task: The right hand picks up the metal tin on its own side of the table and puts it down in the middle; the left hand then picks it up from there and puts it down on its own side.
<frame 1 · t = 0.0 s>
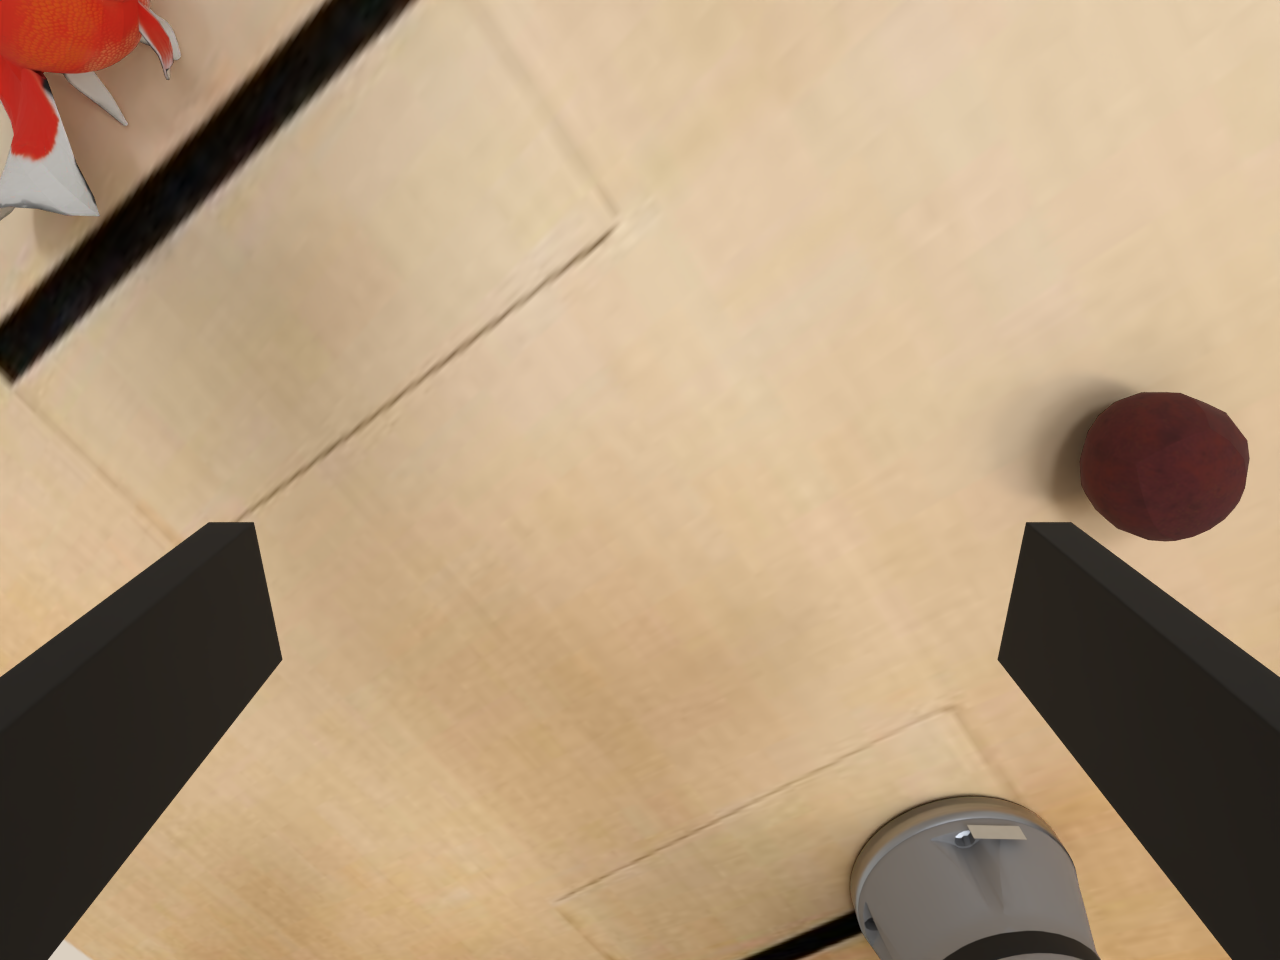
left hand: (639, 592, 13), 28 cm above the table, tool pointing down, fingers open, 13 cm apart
fish: (110, 93, 35), on the table
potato: (1116, 442, 41), on the table
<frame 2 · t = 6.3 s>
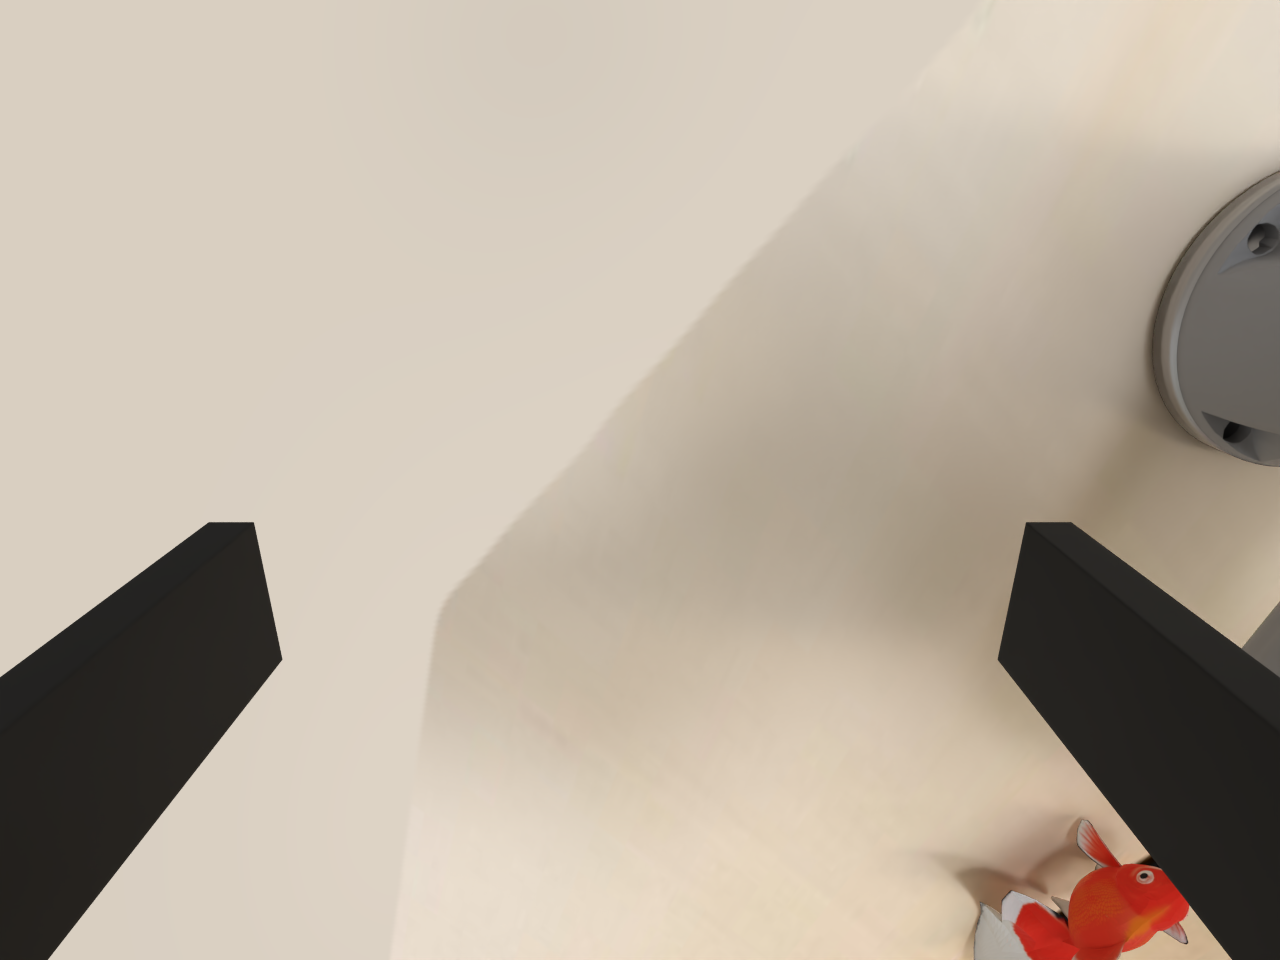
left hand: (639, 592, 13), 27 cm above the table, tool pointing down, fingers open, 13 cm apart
fish: (1042, 880, 51), on the table
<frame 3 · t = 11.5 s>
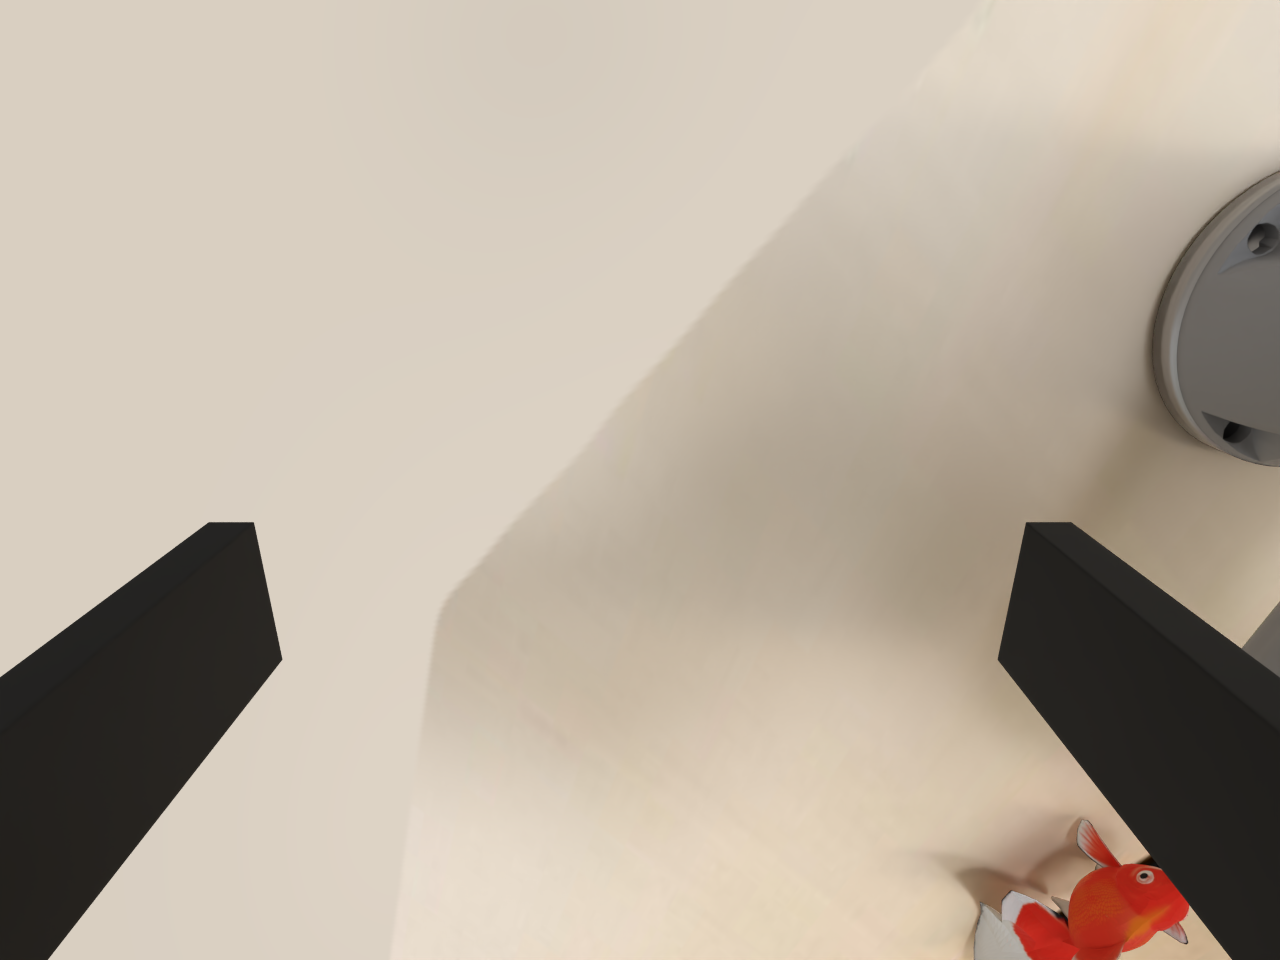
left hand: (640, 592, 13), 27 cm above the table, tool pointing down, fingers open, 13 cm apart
fish: (1042, 880, 51), on the table
when the right hand's fingers open (4 cm above the table, at t = 16.6 s): tin drops 1 cm, on the table.
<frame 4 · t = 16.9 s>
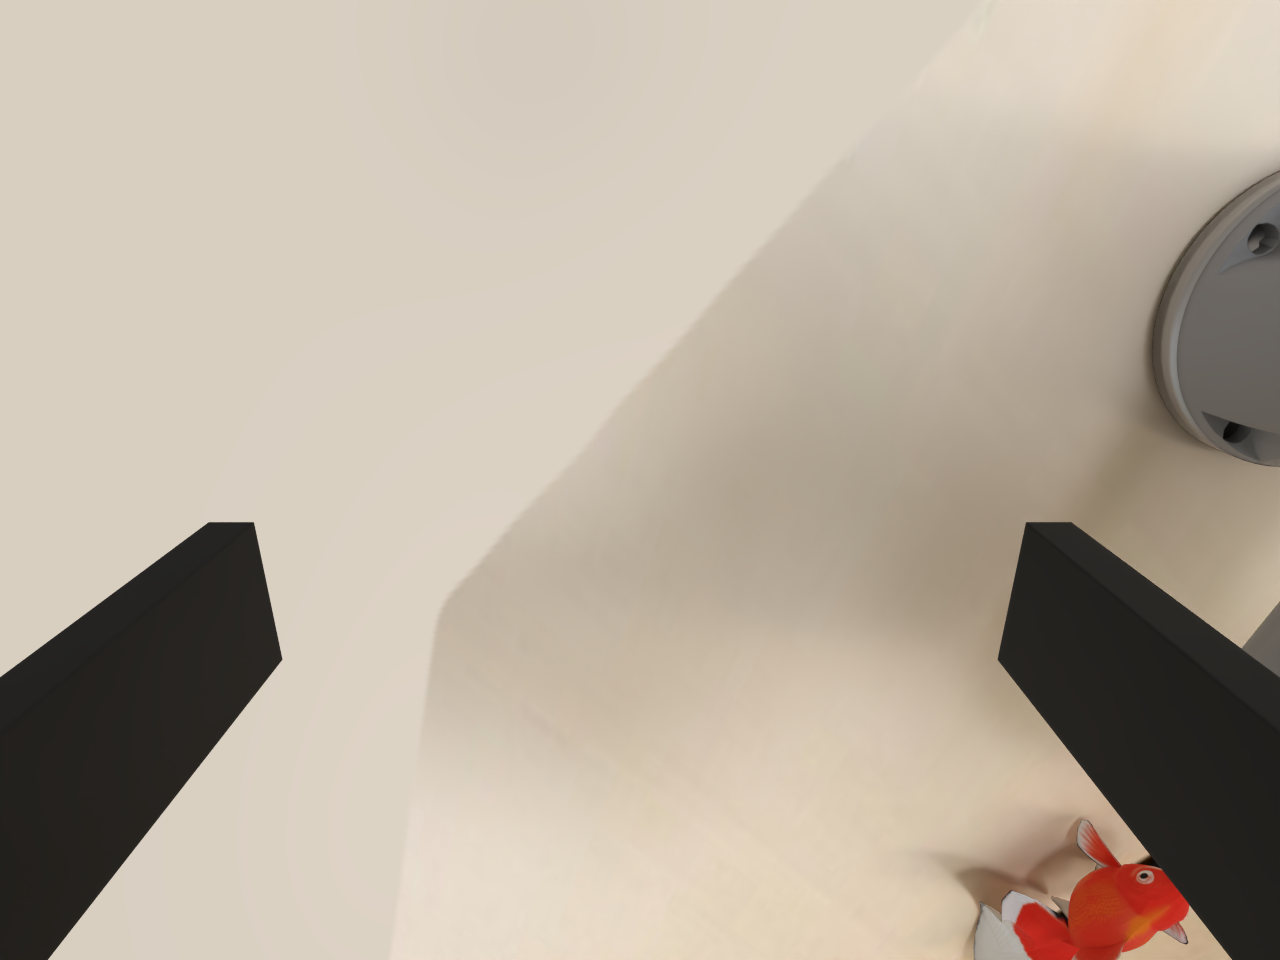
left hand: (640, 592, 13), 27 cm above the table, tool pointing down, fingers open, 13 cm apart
fish: (1042, 880, 51), on the table
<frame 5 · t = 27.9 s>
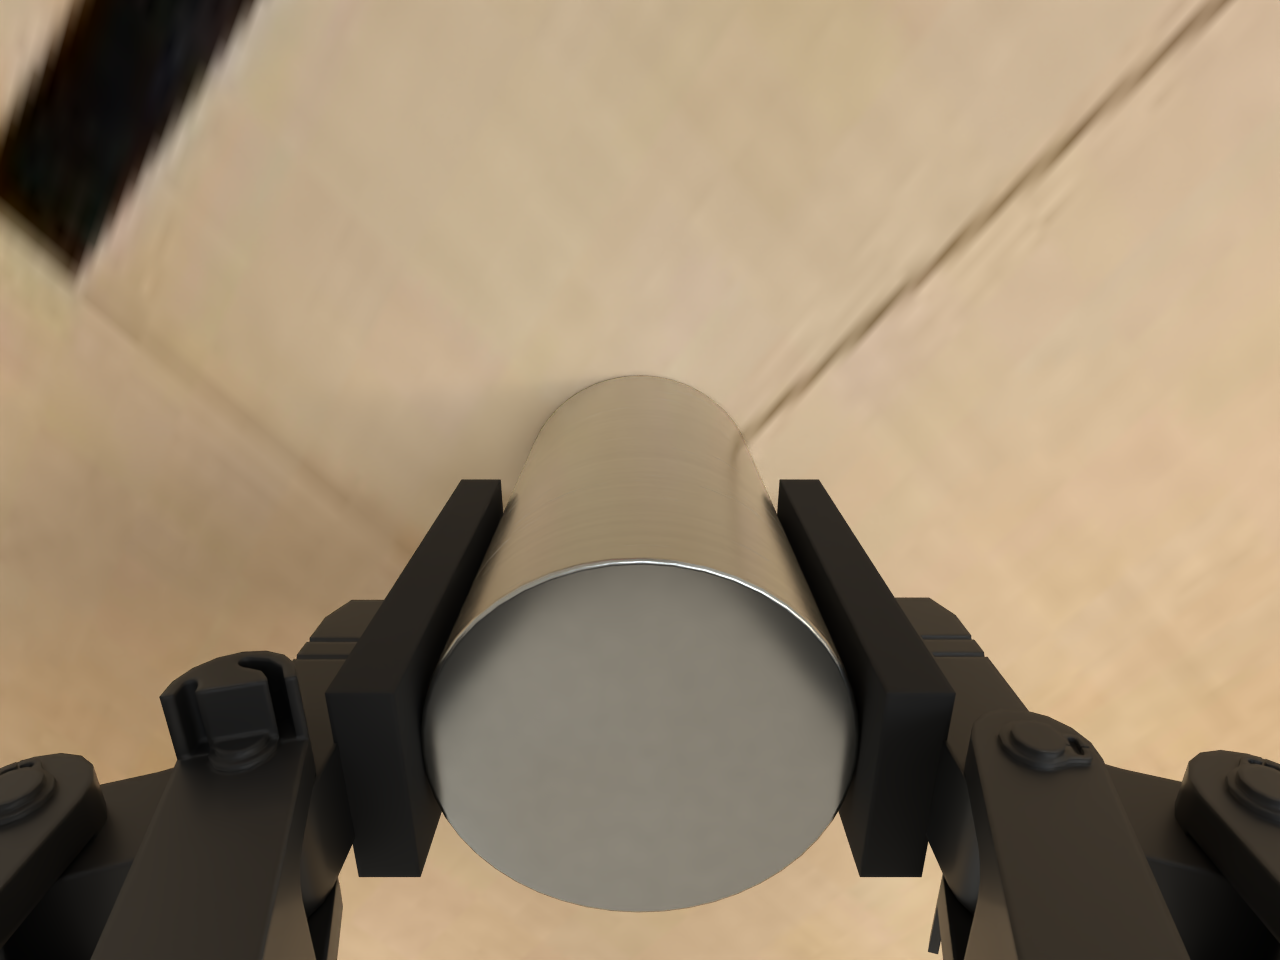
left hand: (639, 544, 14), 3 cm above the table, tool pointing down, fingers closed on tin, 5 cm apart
tin: (639, 486, 17), on the table, touching left hand
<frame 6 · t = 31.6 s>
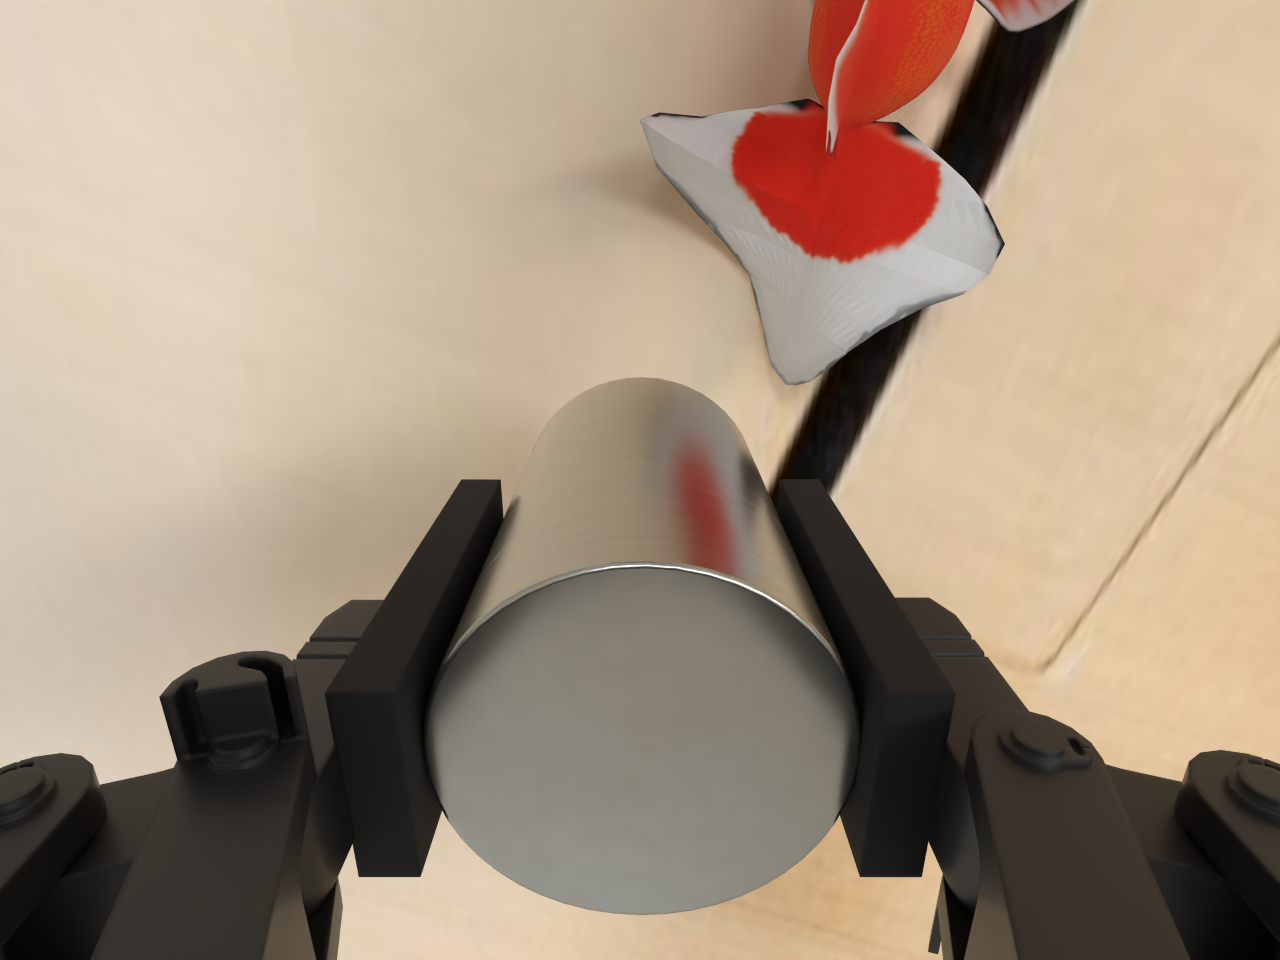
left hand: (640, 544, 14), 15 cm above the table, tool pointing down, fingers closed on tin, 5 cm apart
fish: (825, 148, 25), on the table
tin: (641, 487, 17), point 12 cm above the table, touching left hand
when the left hand's fingers open (4 cm above the table, at t = 35.5 s): tin drops 1 cm, on the table.
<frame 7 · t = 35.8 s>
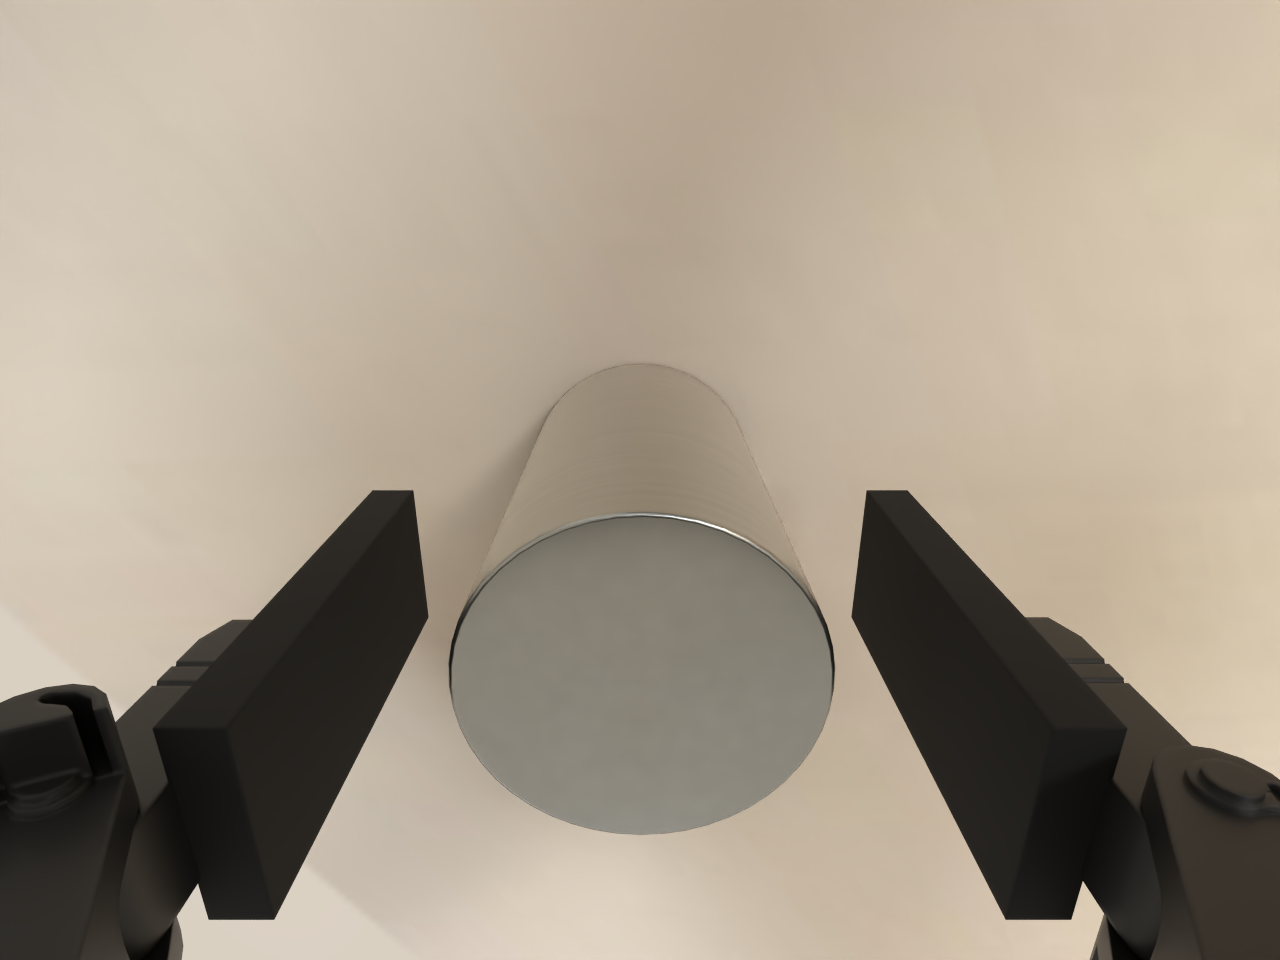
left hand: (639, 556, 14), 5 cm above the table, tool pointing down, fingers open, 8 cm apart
tin: (640, 467, 19), on the table
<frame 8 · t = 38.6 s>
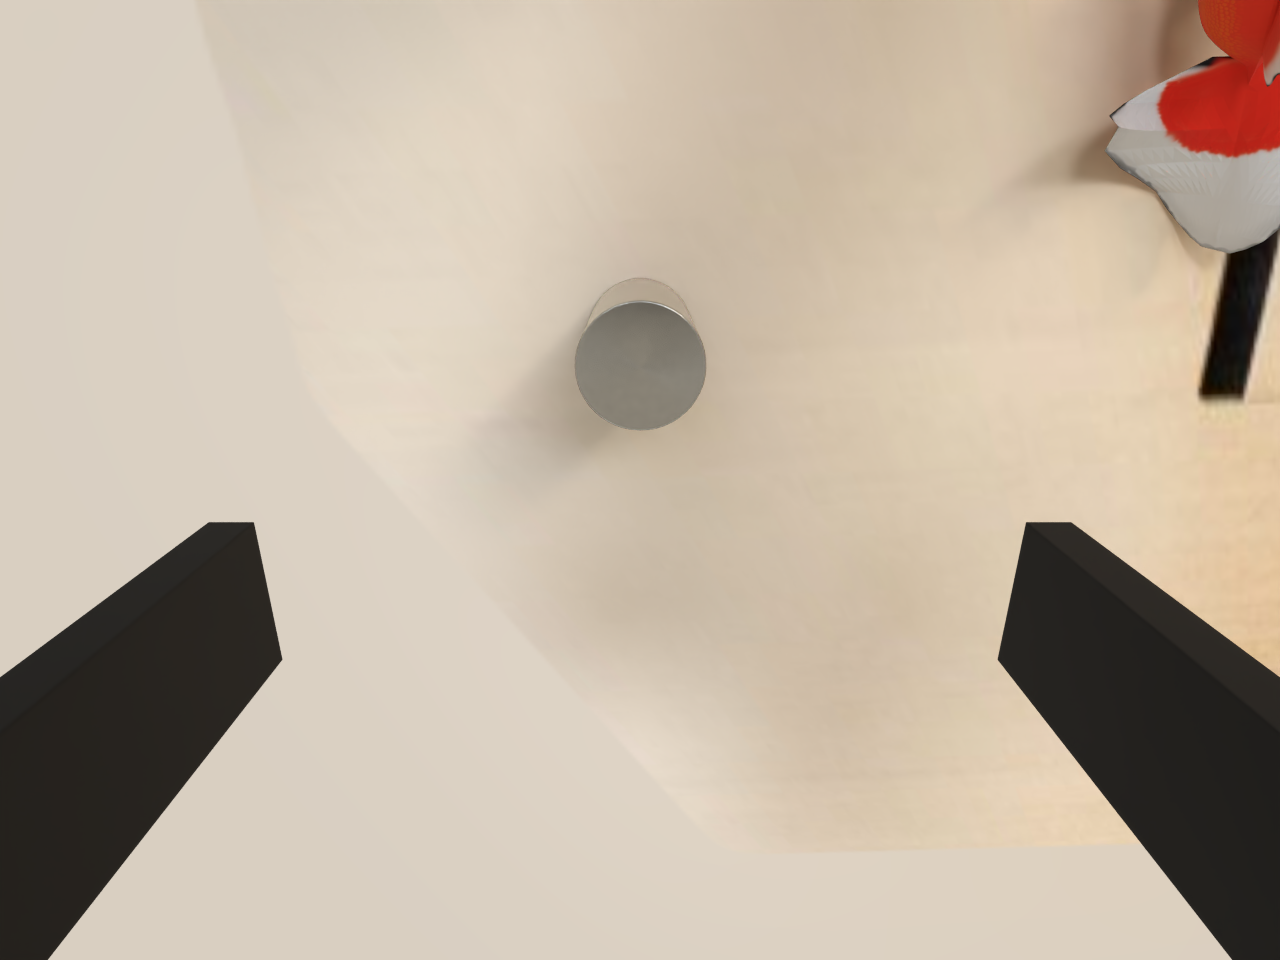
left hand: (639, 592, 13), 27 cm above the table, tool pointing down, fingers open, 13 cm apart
fish: (1188, 79, 34), on the table
tin: (640, 331, 38), on the table
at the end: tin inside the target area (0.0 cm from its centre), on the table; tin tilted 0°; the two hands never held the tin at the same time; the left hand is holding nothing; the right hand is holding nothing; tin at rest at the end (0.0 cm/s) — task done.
